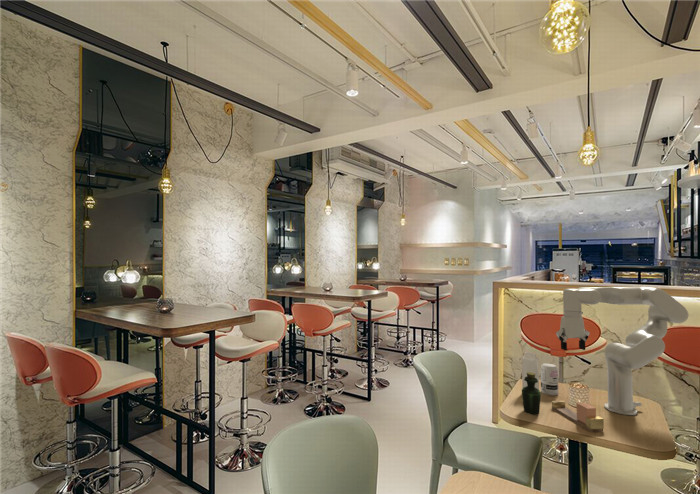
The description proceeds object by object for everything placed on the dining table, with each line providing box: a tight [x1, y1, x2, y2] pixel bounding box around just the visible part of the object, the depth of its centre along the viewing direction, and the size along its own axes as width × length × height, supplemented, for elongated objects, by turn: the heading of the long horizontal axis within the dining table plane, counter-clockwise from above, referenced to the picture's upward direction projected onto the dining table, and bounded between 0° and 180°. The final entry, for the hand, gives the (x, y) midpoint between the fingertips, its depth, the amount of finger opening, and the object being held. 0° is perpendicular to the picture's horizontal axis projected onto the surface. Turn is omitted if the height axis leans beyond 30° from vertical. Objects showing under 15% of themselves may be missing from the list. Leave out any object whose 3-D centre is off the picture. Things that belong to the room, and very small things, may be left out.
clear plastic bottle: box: [521, 351, 540, 390], centre depth 189 cm, size 6×6×22 cm
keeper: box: [576, 402, 597, 424], centre depth 153 cm, size 4×6×7 cm, turn 7°
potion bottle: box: [521, 372, 542, 416], centre depth 166 cm, size 8×8×18 cm
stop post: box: [586, 415, 605, 430], centre depth 148 cm, size 6×2×4 cm, turn 97°
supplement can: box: [540, 362, 559, 396], centre depth 190 cm, size 8×8×15 cm
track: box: [551, 400, 604, 433], centre depth 159 cm, size 6×23×4 cm, turn 7°
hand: (573, 349), depth 171 cm, fingers open, 9 cm apart
